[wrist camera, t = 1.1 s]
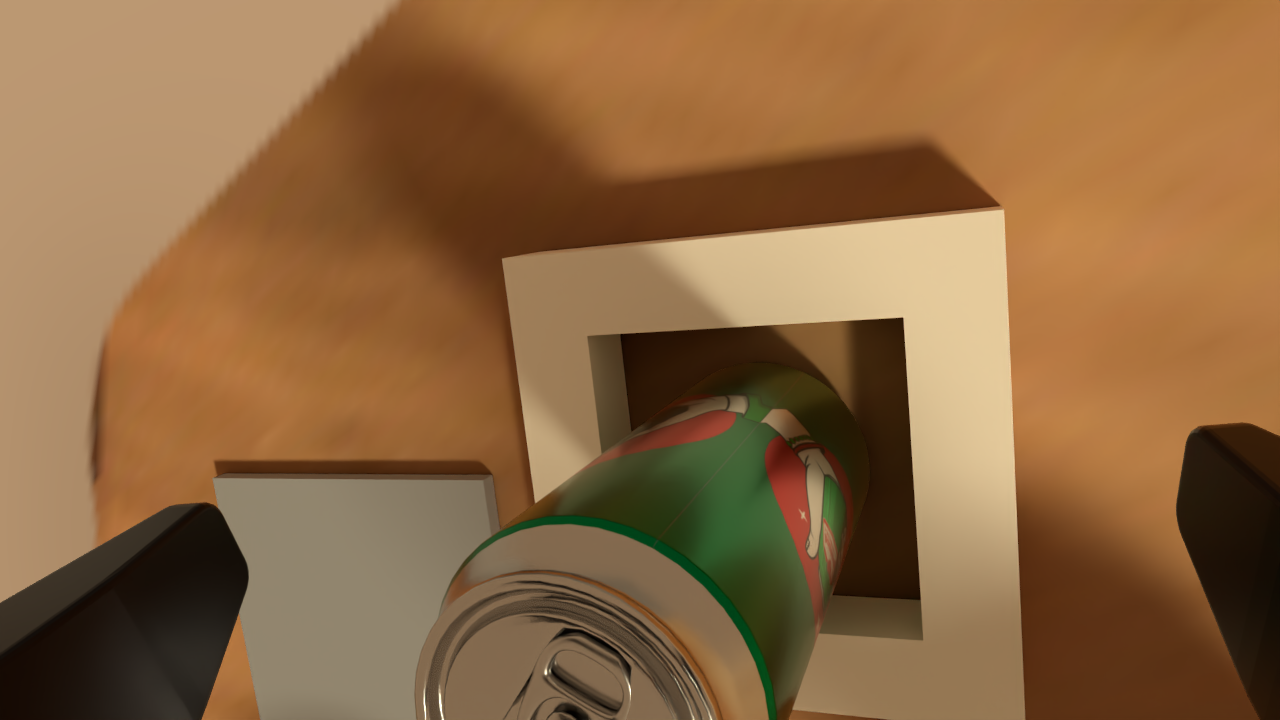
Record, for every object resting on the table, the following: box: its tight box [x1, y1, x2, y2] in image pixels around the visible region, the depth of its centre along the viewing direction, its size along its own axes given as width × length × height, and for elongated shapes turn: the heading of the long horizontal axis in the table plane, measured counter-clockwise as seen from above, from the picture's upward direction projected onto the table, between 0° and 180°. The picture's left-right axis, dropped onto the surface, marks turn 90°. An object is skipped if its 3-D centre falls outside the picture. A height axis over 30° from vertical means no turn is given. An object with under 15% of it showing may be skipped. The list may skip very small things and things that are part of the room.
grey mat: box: [213, 473, 500, 720], centre depth 27 cm, size 10×10×1 cm
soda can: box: [414, 362, 870, 720], centre depth 16 cm, size 5×5×12 cm
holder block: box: [502, 206, 1025, 720], centre depth 21 cm, size 11×11×2 cm
